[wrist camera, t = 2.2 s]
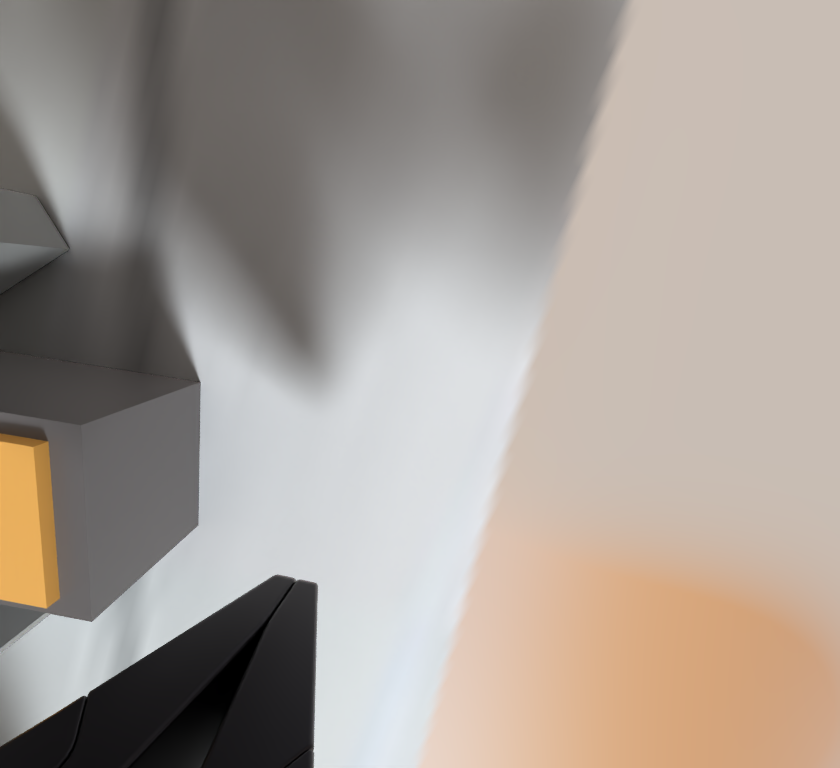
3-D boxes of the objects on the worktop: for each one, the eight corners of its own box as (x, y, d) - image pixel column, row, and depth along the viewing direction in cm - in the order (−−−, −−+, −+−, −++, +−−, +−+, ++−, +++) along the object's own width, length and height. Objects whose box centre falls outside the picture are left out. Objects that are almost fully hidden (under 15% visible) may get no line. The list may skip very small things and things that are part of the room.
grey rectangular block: (201, 522, 13) (79, 632, 9) (-10, 484, 13) (-222, 573, 9) (203, 380, 12) (66, 430, 8) (-26, 345, 12) (-273, 373, 8)
